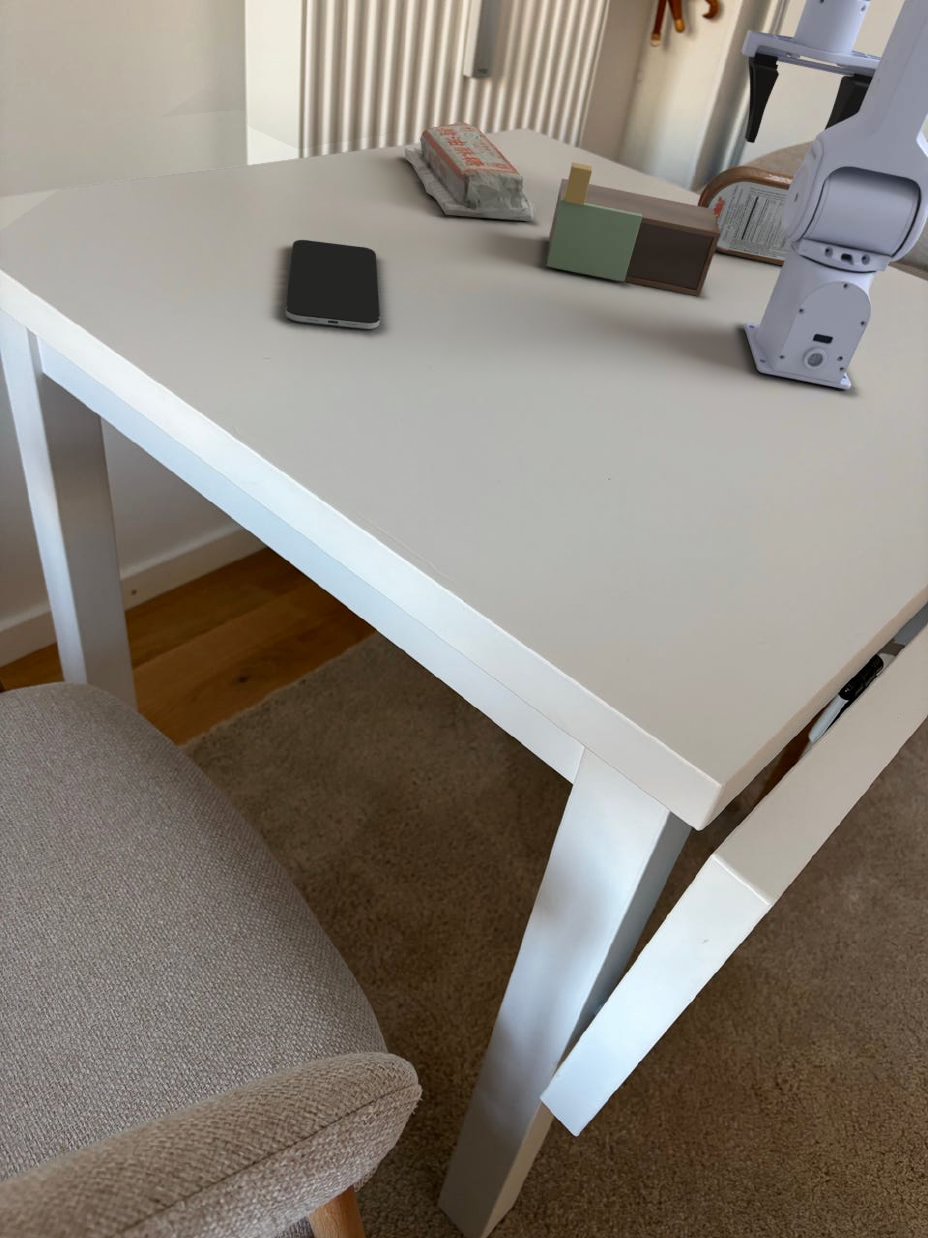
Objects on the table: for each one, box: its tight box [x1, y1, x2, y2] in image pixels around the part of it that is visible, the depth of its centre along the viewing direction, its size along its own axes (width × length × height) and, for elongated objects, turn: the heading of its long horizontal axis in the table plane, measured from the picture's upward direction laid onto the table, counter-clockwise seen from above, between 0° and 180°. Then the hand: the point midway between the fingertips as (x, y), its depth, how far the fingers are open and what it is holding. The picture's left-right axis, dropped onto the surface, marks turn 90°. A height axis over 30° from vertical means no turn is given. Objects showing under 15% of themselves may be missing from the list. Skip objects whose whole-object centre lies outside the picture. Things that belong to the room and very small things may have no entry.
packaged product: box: [404, 122, 537, 222], centre depth 100 cm, size 18×5×10 cm
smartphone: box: [285, 239, 381, 330], centre depth 77 cm, size 7×1×15 cm
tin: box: [696, 165, 795, 266], centre depth 97 cm, size 15×3×8 cm, turn 84°
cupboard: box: [545, 178, 721, 297], centre depth 90 cm, size 7×15×6 cm, turn 84°
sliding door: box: [546, 161, 642, 283], centre depth 85 cm, size 1×8×9 cm, turn 84°
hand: (785, 147), depth 97 cm, fingers open, 7 cm apart
